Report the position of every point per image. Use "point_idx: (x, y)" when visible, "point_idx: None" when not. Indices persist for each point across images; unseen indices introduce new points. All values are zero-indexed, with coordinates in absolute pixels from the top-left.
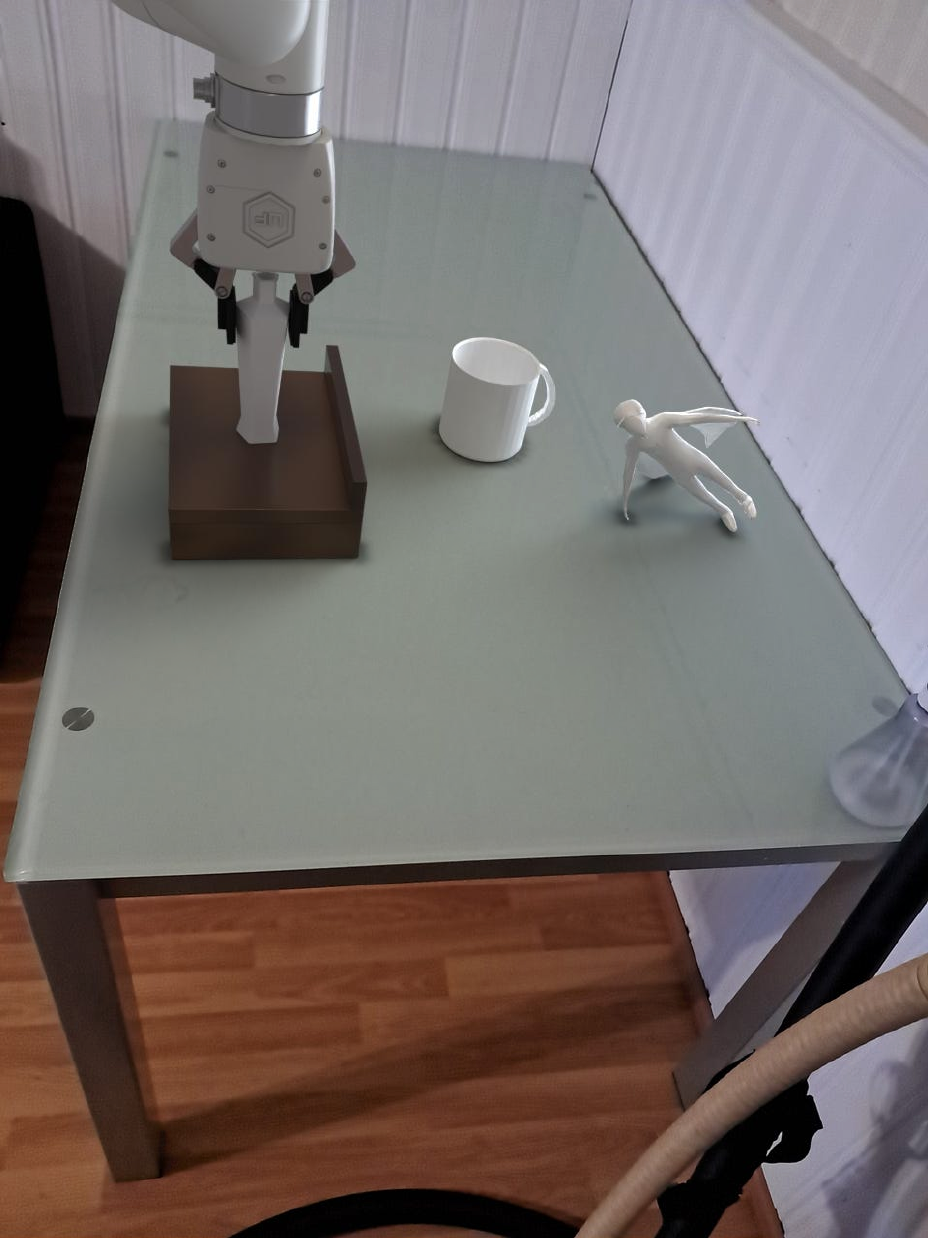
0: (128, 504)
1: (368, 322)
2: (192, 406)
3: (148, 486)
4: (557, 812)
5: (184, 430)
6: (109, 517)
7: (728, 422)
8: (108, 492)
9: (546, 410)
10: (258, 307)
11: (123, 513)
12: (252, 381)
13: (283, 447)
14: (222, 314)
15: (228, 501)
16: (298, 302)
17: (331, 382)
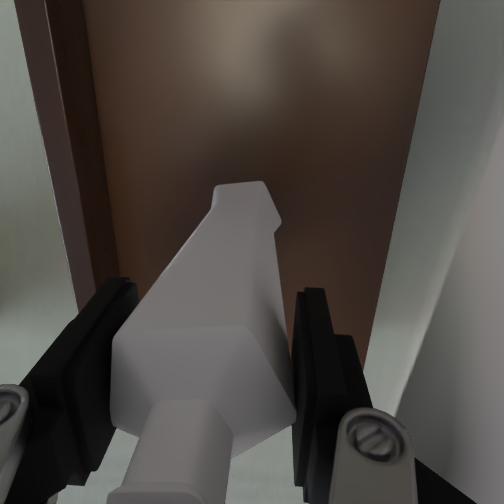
0: (442, 135)
1: (96, 479)
2: (344, 285)
3: (405, 177)
4: None
5: (369, 221)
6: (476, 104)
7: None
8: (464, 165)
9: None
10: (216, 378)
11: (454, 113)
12: (253, 231)
13: (203, 170)
14: (346, 366)
15: None
16: (45, 393)
17: None
